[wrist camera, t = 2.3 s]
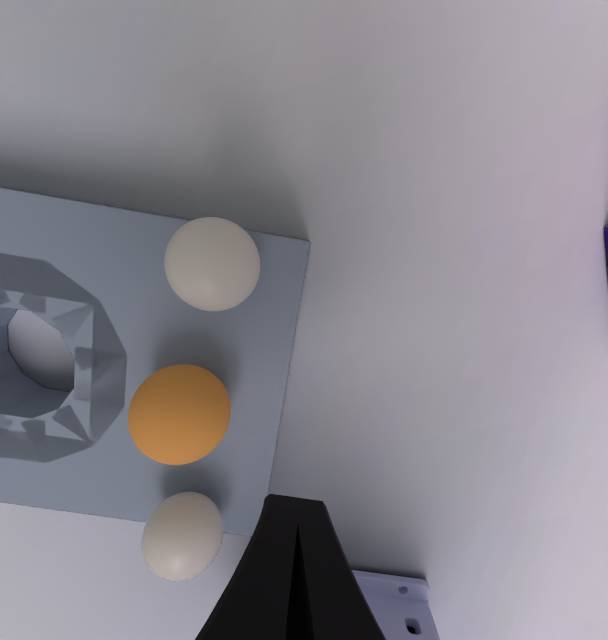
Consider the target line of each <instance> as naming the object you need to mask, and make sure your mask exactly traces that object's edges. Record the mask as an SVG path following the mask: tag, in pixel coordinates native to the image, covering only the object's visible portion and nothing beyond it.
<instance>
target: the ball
mask: <svg viewBox="0 0 608 640" xmlns="http://www.w3.org/2000/svg"><path fill="white" fill-rule="evenodd" d="M230 417H231V404H230V399H229V396H228V393H227V390H226V388H225V387H224V385H223V384H222V382H221V381H220V380H219V379H218V378H217V377H216V376H215V375H214V374H213V373H211V372H209V371H208V370H206V369H204V368H202V367H199V366H195V365H189V364H178V365H172V366H168V367H165V368H163V369H160V370H158V371H156V372H155V373H153V374H152V375H150V376H149V377H148V378H147V379H145V380H144V382H143V383H142V384H141V385H140V386H139V387H138V389H137V390H136V392H135V394H134V396H133V398H132V400H131V403H130V406H129V411H128V426H129V431H130V434H131V437H132V439H133V441H134V443H135V444H136V446H137V447H138V448H139V450H140V451H141V452H143V453H144V454H145V455H146V456H148V457H149V458H151V459H152V460H155V461H157V462H160V463H163V464H168V465H181V464H187V463H191V462H194V461H196V460H199V459H201V458H203V457H204V456H206V455H207V454H209V453H210V452H211V451H212V450H213V449H214V448H215V447H216V446H217V445H218V444H219V443H220V441H221V440H222V439H223V437H224V435H225V433H226V431H227V429H228V426H229V422H230Z"/></svg>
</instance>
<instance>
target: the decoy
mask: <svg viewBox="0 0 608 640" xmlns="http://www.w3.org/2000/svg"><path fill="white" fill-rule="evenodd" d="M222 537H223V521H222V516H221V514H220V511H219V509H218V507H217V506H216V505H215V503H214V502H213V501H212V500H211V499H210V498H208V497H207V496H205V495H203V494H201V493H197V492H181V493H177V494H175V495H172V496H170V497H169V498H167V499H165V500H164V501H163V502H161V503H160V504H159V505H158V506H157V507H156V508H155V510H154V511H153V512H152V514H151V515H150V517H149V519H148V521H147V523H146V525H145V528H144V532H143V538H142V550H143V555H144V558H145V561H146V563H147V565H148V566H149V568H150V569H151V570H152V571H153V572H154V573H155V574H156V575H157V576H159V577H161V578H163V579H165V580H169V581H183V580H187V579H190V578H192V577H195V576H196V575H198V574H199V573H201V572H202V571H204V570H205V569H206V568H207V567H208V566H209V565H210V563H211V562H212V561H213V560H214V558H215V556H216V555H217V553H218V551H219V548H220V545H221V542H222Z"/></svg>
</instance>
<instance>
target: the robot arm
mask: <svg viewBox="0 0 608 640" xmlns="http://www.w3.org/2000/svg"><path fill="white" fill-rule="evenodd" d="M429 596H430V588H429V585H428V583H427V582H426V581H425V580H422V579H416V578H409V577H401V576H394V575H386V574H379V573H371V572H364V571H357V570H351V568H350V566H349V563H348V561H347V559H346V557H345V554H344V552H343V549H342V547H341V545H340V542H339V540H338V538H337V535H336V532H335V530H334V527H333V525H332V522H331V519H330V517H329V514H328V511H327V508H326V506H325V504H324V503H323V501H317V500H310V499H303V498H296V497H289V496H282V495H275V494H270V495H268V496H266V497H265V499H264V504H263V508H262V511H261V515H260V517H259V520H258V523H257V525H256V528H255V530H254V533H253V535H252V537H251V539H250V542H249V544H248V546H247V548H246V550H245V552H244V554H243V556H242V558H241V560H240V562H239V564H238V566H237V568H236V570H235V572H234V574H233V576H232V578H231V580H230V581H229V583H228V585H227V587H226V588H225V590H224V592H223V594H222V595H221V597H220V599H219V600H218V602H217V604H216V606H215V607H214V609H213V611H212V613H211V614H210V616H209V618H208V620H207V621H206V623H205V624H204V626H203V628H202V629H201V631H200V632H199V634H198V636H197V637H196V639H195V640H440V638H439V635H438V632H437V629H436V626H435V623H434V620H433V617H432V614H431V611H430V609H429V606H428V603H427V602H428V599H429Z"/></svg>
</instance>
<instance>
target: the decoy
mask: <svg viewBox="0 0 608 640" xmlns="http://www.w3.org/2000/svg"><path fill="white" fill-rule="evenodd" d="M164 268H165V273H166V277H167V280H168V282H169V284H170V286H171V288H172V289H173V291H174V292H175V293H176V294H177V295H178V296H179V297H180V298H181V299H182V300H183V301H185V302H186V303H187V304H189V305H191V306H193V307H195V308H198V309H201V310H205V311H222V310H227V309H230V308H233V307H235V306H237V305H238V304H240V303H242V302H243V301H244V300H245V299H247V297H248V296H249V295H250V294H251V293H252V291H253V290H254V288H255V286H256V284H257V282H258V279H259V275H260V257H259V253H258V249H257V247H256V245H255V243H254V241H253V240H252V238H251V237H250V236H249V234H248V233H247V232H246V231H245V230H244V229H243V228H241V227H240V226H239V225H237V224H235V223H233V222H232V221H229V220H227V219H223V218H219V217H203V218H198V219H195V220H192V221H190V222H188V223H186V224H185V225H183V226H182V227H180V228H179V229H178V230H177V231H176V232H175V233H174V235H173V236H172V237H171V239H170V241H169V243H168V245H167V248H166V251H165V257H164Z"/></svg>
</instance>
